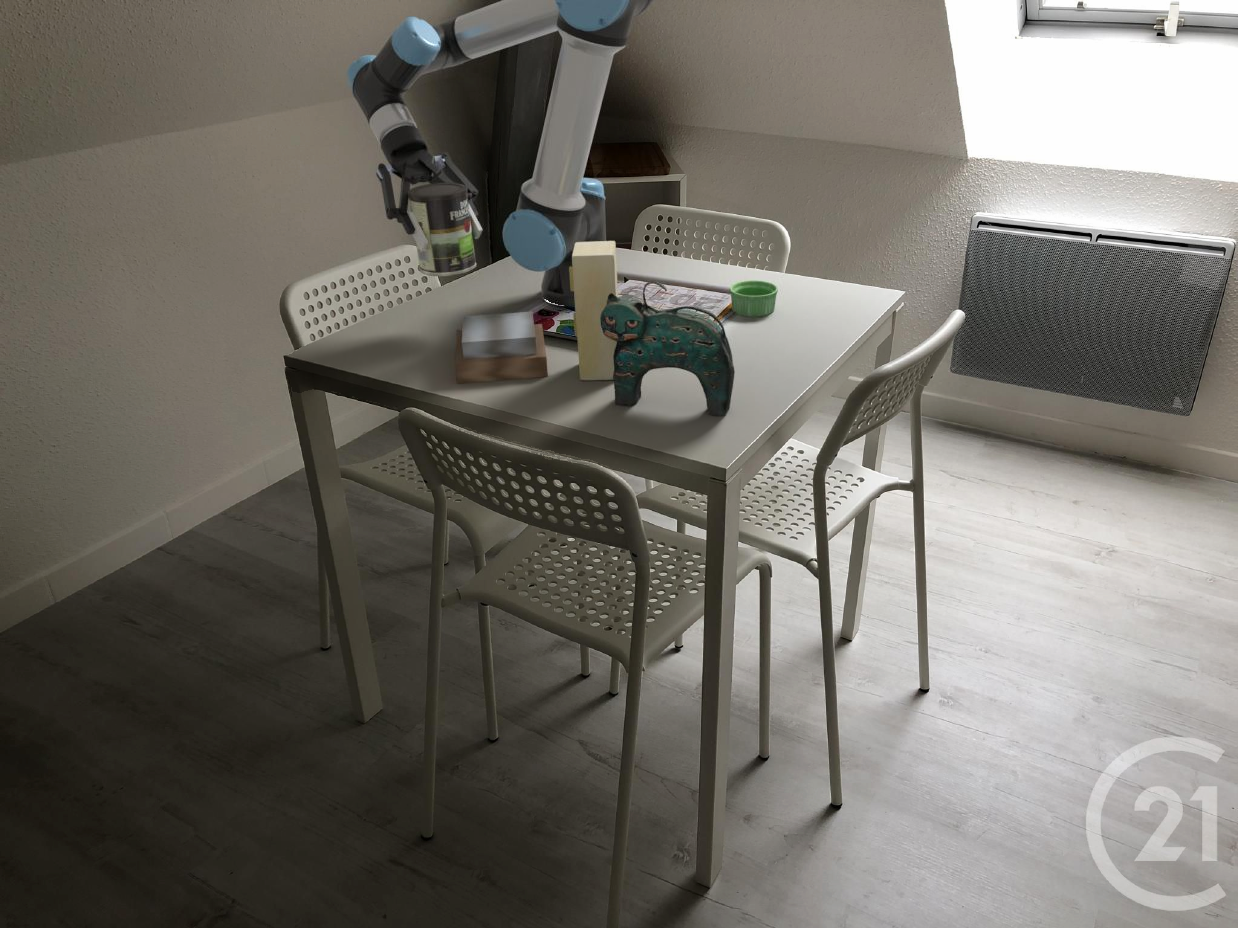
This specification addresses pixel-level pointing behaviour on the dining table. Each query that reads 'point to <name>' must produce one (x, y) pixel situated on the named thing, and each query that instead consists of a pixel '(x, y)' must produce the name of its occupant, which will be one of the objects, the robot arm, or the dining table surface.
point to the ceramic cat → (667, 348)
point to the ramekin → (753, 298)
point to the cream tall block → (593, 306)
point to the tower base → (501, 363)
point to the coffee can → (444, 228)
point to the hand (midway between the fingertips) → (452, 241)
